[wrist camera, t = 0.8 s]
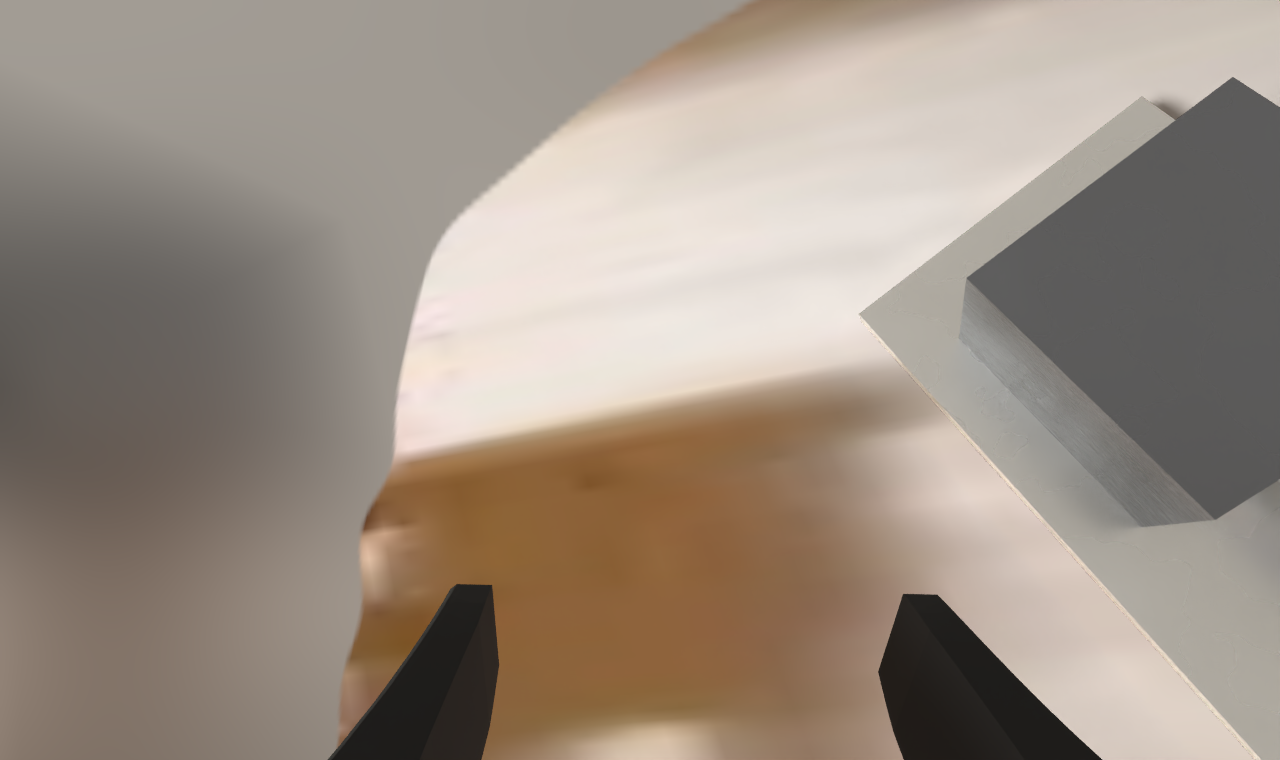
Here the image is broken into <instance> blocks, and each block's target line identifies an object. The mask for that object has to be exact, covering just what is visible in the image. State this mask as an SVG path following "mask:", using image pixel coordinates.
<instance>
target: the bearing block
mask: <svg viewBox="0 0 1280 760" xmlns="http://www.w3.org/2000/svg"><path fill="white" fill-rule="evenodd" d="M859 316H860V320H861V322H862V323H863V324H864V326H865V327H866V328H867V329H868V330H869V331H870V332H871V333H872V334H873V336H874V337H875V338H876V339H877V340H878V341H879V342H880V343H881V344H882V346H883V347H884V348H885V349H886V350H887V351H888V352H889V353H890V354H891V356H892V357H893V358H894V359H895V360H896V361H897V362H898V363H899V364H900V366H901V367H902V368H903V369H904V370H905V371H906V372H907V373H908V374H909V376H910V377H911V378H912V379H913V380H914V381H915V382H916V383H917V384H918V386H919V387H920V388H921V389H922V390H923V391H924V392H925V393H926V394H927V396H928V397H929V398H930V399H931V400H932V401H933V402H934V403H935V404H936V406H937V407H938V408H939V409H940V410H941V411H942V412H943V413H944V414H945V416H946V417H947V418H948V419H949V420H950V421H951V422H952V423H953V424H954V426H955V427H956V428H957V429H958V430H959V431H960V432H961V433H962V434H963V436H964V437H965V438H966V439H967V440H968V441H969V442H970V443H971V445H972V446H973V447H974V448H975V449H976V450H977V451H978V452H979V453H980V455H981V456H982V457H983V458H984V459H985V460H986V461H987V462H988V463H989V465H990V466H991V467H992V468H993V469H994V470H995V471H996V472H997V473H998V475H999V476H1000V477H1001V478H1002V479H1003V480H1004V481H1005V482H1006V483H1007V485H1008V486H1009V487H1010V488H1011V489H1012V490H1013V491H1014V492H1015V493H1016V495H1017V496H1018V497H1019V498H1020V499H1021V500H1022V501H1023V502H1024V503H1025V505H1026V506H1027V507H1028V508H1029V509H1030V510H1031V511H1032V512H1033V513H1034V515H1035V516H1036V517H1037V518H1038V519H1039V520H1040V521H1041V522H1042V523H1043V525H1044V526H1045V527H1046V528H1047V529H1048V530H1049V531H1050V532H1051V533H1052V535H1053V536H1054V537H1055V538H1056V539H1057V540H1058V541H1059V542H1060V543H1061V545H1062V546H1063V547H1064V548H1065V549H1066V550H1067V551H1068V552H1069V553H1070V555H1071V556H1072V557H1073V558H1074V559H1075V560H1076V561H1077V562H1078V563H1079V565H1080V566H1081V567H1082V568H1083V569H1084V570H1085V571H1086V572H1087V573H1088V575H1089V576H1090V577H1091V578H1092V579H1093V580H1094V581H1095V582H1096V583H1097V585H1098V586H1099V587H1100V588H1101V589H1102V590H1103V591H1104V592H1105V593H1106V595H1107V596H1108V597H1109V598H1110V599H1111V600H1112V601H1113V602H1114V603H1115V605H1116V606H1117V607H1118V608H1119V609H1120V610H1121V611H1122V612H1123V613H1124V615H1125V616H1126V617H1127V618H1128V619H1129V620H1130V621H1131V622H1132V623H1133V625H1134V626H1135V627H1136V628H1137V629H1138V630H1139V631H1140V632H1141V633H1142V635H1143V636H1144V637H1145V638H1146V639H1147V640H1148V641H1149V642H1150V643H1151V645H1152V646H1153V647H1154V648H1155V649H1156V650H1157V651H1158V652H1159V653H1160V655H1161V656H1162V657H1163V658H1164V659H1165V660H1166V661H1167V662H1168V663H1169V665H1170V666H1171V667H1172V668H1173V669H1174V670H1175V671H1176V672H1177V673H1178V675H1179V676H1180V677H1181V678H1182V679H1183V680H1184V681H1185V682H1186V683H1187V685H1188V686H1189V687H1190V688H1191V689H1192V690H1193V691H1194V692H1195V693H1196V695H1197V696H1198V697H1199V698H1200V699H1201V700H1202V701H1203V702H1204V703H1205V705H1206V706H1207V707H1208V708H1209V709H1210V710H1211V711H1212V712H1213V713H1214V715H1215V716H1216V717H1217V718H1218V719H1219V720H1220V721H1221V722H1222V723H1223V725H1224V726H1225V727H1226V728H1227V729H1228V730H1229V731H1230V732H1231V733H1232V735H1233V736H1234V737H1235V738H1236V739H1237V740H1238V741H1239V742H1240V743H1241V745H1242V746H1243V747H1244V748H1245V749H1246V750H1247V751H1248V752H1249V753H1250V755H1251V756H1252V757H1253V758H1254V759H1255V760H1280V482H1279V481H1278V480H1280V107H1278V106H1277V105H1275V104H1274V103H1272V102H1271V101H1269V100H1268V99H1266V98H1264V97H1263V96H1261V95H1260V94H1258V93H1257V92H1255V91H1254V90H1252V89H1251V88H1249V87H1247V86H1246V85H1244V84H1243V83H1241V82H1240V81H1238V80H1237V79H1235V78H1234V77H1232V78H1231V79H1230V80H1228V81H1227V82H1226V83H1224V84H1223V85H1222V86H1220V87H1219V88H1218V89H1216V90H1215V91H1214V92H1212V93H1211V94H1210V95H1208V96H1207V97H1206V98H1204V99H1203V100H1202V101H1200V102H1199V103H1198V104H1196V105H1195V106H1194V107H1192V108H1191V109H1190V110H1188V111H1187V112H1186V113H1184V114H1183V115H1182V116H1180V117H1179V118H1178V119H1176V120H1175V119H1173V118H1172V117H1171V116H1169V115H1168V114H1166V113H1165V112H1163V111H1162V110H1161V109H1159V108H1158V107H1156V106H1155V105H1154V104H1152V103H1151V102H1149V101H1148V100H1146V99H1145V98H1144V97H1141V98H1139V99H1138V100H1137V101H1135V102H1134V103H1133V104H1131V105H1130V106H1129V107H1128V108H1126V109H1125V110H1124V111H1122V112H1121V113H1120V114H1118V115H1117V116H1116V117H1115V118H1113V119H1112V120H1111V121H1109V122H1108V123H1107V124H1105V125H1104V126H1103V127H1102V128H1100V129H1099V130H1098V131H1096V132H1095V133H1094V134H1092V135H1091V136H1090V137H1089V138H1087V139H1086V140H1085V141H1083V142H1082V143H1081V144H1079V145H1078V146H1077V147H1076V148H1074V149H1073V150H1072V151H1070V152H1069V153H1068V154H1066V155H1065V156H1064V157H1063V158H1061V159H1060V160H1059V161H1057V162H1056V163H1055V164H1053V165H1052V166H1051V167H1049V168H1048V169H1047V170H1046V171H1044V172H1043V173H1042V174H1040V175H1039V176H1038V177H1036V178H1035V179H1034V180H1033V181H1031V182H1030V183H1029V184H1027V185H1026V186H1025V187H1023V188H1022V189H1021V190H1020V191H1018V192H1017V193H1016V194H1014V195H1013V196H1012V197H1010V198H1009V199H1008V200H1007V201H1005V202H1004V203H1003V204H1001V205H1000V206H999V207H997V208H996V209H995V210H994V211H992V212H991V213H990V214H988V215H987V216H986V217H984V218H983V219H982V220H981V221H979V222H978V223H977V224H975V225H974V226H973V227H971V228H970V229H969V230H968V231H966V232H965V233H964V234H962V235H961V236H960V237H958V238H957V239H956V240H955V241H953V242H952V243H951V244H949V245H948V246H947V247H945V248H944V249H943V250H942V251H940V252H939V253H938V254H936V255H935V256H934V257H932V258H931V259H930V260H929V261H927V262H926V263H925V264H923V265H922V266H921V267H919V268H918V269H917V270H915V271H914V272H913V273H912V274H910V275H909V276H908V277H906V278H905V279H904V280H902V281H901V282H900V283H899V284H897V285H896V286H895V287H893V288H892V289H891V290H889V291H888V292H887V293H886V294H884V295H883V296H882V297H880V298H879V299H878V300H876V301H875V302H874V303H873V304H871V305H870V306H869V307H867V308H866V309H865V310H863V311H862V312H861V313H860V314H859Z"/></svg>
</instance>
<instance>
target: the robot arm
mask: <svg viewBox="0 0 1280 760" xmlns="http://www.w3.org/2000/svg"><path fill="white" fill-rule="evenodd" d="M498 668H499V659H498V648H497V637H496V625H495V614H494V603H493V591H492V585H465V584H456V585H455V586H454V587H453V588H451V589H450V591H449V593H448V594H447V596H446V598H445V600H444V601H443V603H442V605H441V606H440V608H439V609H438V611H437V613H436V614H435V616H434V617H433V619H432V621H431V622H430V624H429V625H428V627H427V628H426V630H425V631H424V633H423V634H422V636H421V637H420V639H419V640H418V642H417V643H416V645H415V646H414V648H413V649H412V651H411V652H410V654H409V655H408V657H407V658H406V659H405V661H404V662H403V663H402V665H401V666H400V668H399V669H398V670H397V672H396V673H395V675H394V676H393V677H392V679H391V680H390V682H389V683H388V684H387V686H386V687H385V688H384V690H383V691H382V693H381V694H380V695H379V697H378V698H377V699H376V701H375V702H374V703H373V704H372V706H371V707H370V708H369V709H368V711H367V712H366V713H365V714H364V716H363V717H362V718H361V719H360V721H359V722H358V723H357V724H356V726H355V727H354V728H353V730H352V731H351V732H350V733H349V735H348V736H347V737H346V738H345V740H344V741H343V742H342V743H341V745H340V746H339V747H338V748H337V749H336V751H335V752H334V753H333V754H332V755H331V756H330V758H329V759H328V760H481V759H482V755H483V751H484V747H485V743H486V739H487V735H488V731H489V727H490V721H491V715H492V709H493V702H494V696H495V689H496V682H497V675H498ZM878 673H879V677H880V681H881V685H882V689H883V693H884V698H885V702H886V706H887V709H888V713H889V717H890V720H891V724H892V728H893V732H894V734H895V737H896V740H897V743H898V745H899V748H900V751H901V753H902V756H903V759H904V760H1102V759H1101V758H1100V757H1099V756H1098V755H1097V754H1095V753H1094V752H1093V751H1092V750H1091V749H1090V748H1089V747H1088V746H1087V745H1086V744H1085V743H1084V742H1082V741H1081V740H1080V739H1079V738H1078V737H1077V736H1076V735H1075V734H1074V733H1073V732H1072V731H1071V730H1069V729H1068V728H1067V727H1066V726H1065V725H1064V724H1063V723H1062V722H1061V721H1060V720H1059V719H1058V718H1057V717H1056V716H1055V715H1054V714H1053V713H1052V712H1051V711H1050V710H1049V709H1048V708H1047V707H1046V706H1045V705H1044V704H1043V703H1042V702H1041V701H1040V700H1039V699H1038V698H1037V697H1036V696H1035V695H1034V694H1033V693H1032V692H1031V691H1030V690H1029V689H1028V688H1027V687H1026V686H1025V685H1024V684H1023V683H1022V682H1021V681H1020V680H1019V679H1018V678H1017V677H1016V676H1015V675H1014V674H1013V673H1012V672H1011V671H1010V670H1009V669H1008V668H1007V667H1006V666H1005V665H1004V664H1003V663H1002V662H1001V661H1000V660H999V659H998V658H997V657H996V656H995V655H994V654H993V652H992V651H991V650H990V649H989V648H988V647H987V646H986V645H985V644H984V643H983V642H982V641H981V640H980V639H979V638H978V637H977V636H976V635H975V634H974V632H973V631H972V630H971V629H970V628H969V627H968V626H967V625H966V624H965V623H964V622H963V621H962V620H961V619H960V618H959V617H958V616H957V615H956V613H955V612H954V611H953V610H952V609H951V608H950V607H949V606H948V605H947V604H946V603H945V602H944V601H943V600H942V599H941V598H940V597H939V596H938V595H924V594H903V596H902V600H901V603H900V606H899V609H898V612H897V615H896V618H895V621H894V624H893V628H892V631H891V634H890V637H889V640H888V643H887V646H886V649H885V652H884V656H883V659H882V662H881V665H880V668H879V671H878Z"/></svg>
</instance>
